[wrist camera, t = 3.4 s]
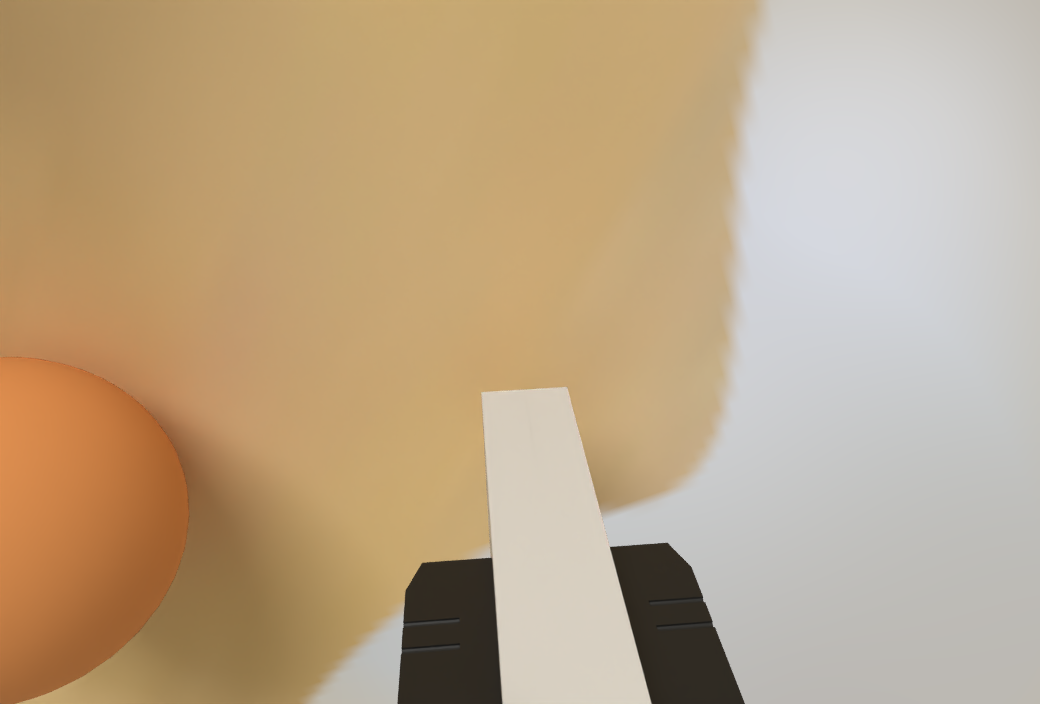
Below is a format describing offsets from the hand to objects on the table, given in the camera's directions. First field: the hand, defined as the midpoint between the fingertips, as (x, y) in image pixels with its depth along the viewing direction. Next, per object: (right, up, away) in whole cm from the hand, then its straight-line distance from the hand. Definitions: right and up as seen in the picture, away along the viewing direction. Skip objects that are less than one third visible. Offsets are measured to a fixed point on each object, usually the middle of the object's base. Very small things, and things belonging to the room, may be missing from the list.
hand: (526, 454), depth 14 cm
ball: (-8, -1, -1) cm, 9 cm away
